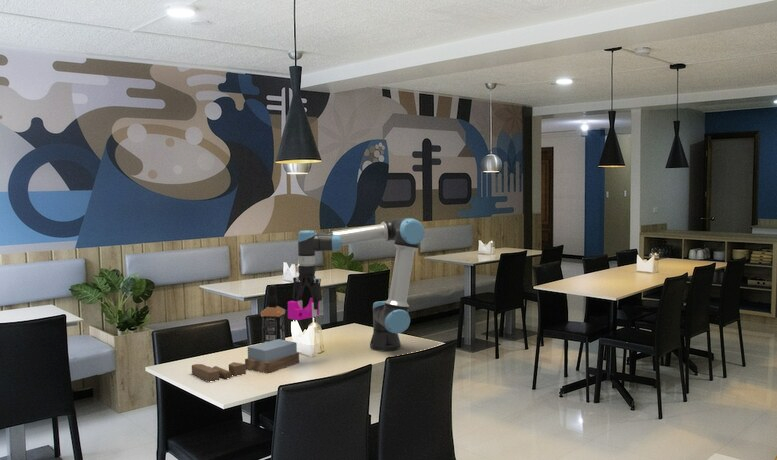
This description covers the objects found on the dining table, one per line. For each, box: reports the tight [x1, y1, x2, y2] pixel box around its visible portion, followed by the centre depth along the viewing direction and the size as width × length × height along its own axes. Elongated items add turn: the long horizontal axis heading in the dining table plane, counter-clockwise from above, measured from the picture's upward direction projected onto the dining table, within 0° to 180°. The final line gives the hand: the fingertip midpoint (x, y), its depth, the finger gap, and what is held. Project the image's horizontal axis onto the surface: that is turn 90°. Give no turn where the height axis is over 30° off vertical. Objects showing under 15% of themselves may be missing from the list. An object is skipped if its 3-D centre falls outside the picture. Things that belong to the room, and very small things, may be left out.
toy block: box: [287, 297, 320, 321], centre depth 289 cm, size 15×6×8 cm, turn 138°
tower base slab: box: [244, 352, 300, 374], centre depth 288 cm, size 14×20×5 cm
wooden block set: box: [191, 361, 247, 383], centre depth 276 cm, size 17×6×18 cm
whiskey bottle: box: [260, 284, 286, 343], centre depth 314 cm, size 10×10×32 cm
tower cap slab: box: [247, 339, 298, 362], centre depth 288 cm, size 12×18×5 cm, turn 140°
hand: (307, 315), depth 290 cm, fingers closed on toy block, 7 cm apart
